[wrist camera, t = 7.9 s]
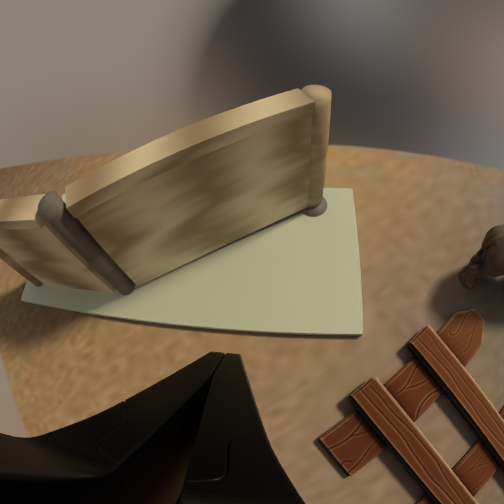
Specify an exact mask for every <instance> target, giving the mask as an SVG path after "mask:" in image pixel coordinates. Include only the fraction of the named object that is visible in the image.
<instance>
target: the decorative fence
mask: <svg viewBox="0 0 504 504" xmlns="http://www.w3.org/2000/svg"><path fill="white" fill-rule="evenodd" d="M484 323H485V321H484V319H483V318H482V317H481V316H480V314H479V313H478V312H477V311H476V310H475V309H470V310H465V311H460V312H456V313H454V314H453V315H452V316H451V317H450V318H449V319H448V321H447V322H446V323H445V324H444V325H443V326H442V327H441V328H440V330H439V331H438V332H437V333H435V331H434V330H433V329H432V328H431V327H430V325H426V326H425V327H424V328H423V329H422V330H421V331H420V332H419V333H418V334H417V335H416V336H415V337H414V338H413V339H412V340H411V341H410V342H409V343H408V346H407V347H408V349H409V350H410V351H411V352H412V353H413V355H414V357H413V358H412V359H411V360H410V361H409V362H408V363H407V364H406V365H405V366H404V367H403V368H402V369H401V370H400V371H398V372H397V373H396V374H395V375H394V376H393V377H392V378H391V379H390V380H389V381H388V382H387V383H386V384H384V385H382V383H381V382H380V381H379V380H378V379H377V377H371V378H370V379H369V380H368V381H366V382H365V383H364V384H363V385H362V386H361V387H359V388H358V389H357V390H356V391H355V392H353V393H352V394H351V395H350V396H349V400H350V402H351V403H352V404H353V405H354V406H355V408H356V409H355V410H354V411H353V412H352V413H350V414H349V415H348V416H347V417H345V418H344V419H343V420H342V421H340V422H339V423H338V424H336V425H335V426H334V427H332V428H331V429H330V430H328V431H327V432H326V433H324V434H323V435H322V436H320V437H319V438H318V441H319V442H320V443H321V444H322V446H323V447H324V448H325V449H326V450H327V452H328V453H329V454H330V455H331V457H332V458H333V459H334V460H335V461H336V463H337V464H338V465H339V466H340V467H341V469H342V470H343V471H344V472H345V473H346V474H347V476H352V475H353V474H354V473H356V472H357V471H358V470H360V469H361V468H362V467H364V466H365V465H366V464H367V463H369V462H370V461H371V460H372V459H374V458H375V457H376V456H377V455H378V454H380V453H381V452H382V451H383V450H384V449H385V448H387V447H388V448H389V449H390V450H391V452H392V453H393V454H394V455H395V456H396V458H397V459H398V460H399V461H400V462H401V464H402V465H403V466H404V467H405V468H406V470H407V471H408V472H409V473H410V474H411V475H412V477H413V478H414V479H415V480H416V481H417V483H418V484H419V485H420V486H421V487H422V489H423V490H424V491H425V492H426V493H427V494H425V495H424V496H423V497H422V498H421V499H420V500H419V501H418V502H416V503H415V504H478V503H477V501H476V500H475V499H474V498H473V497H474V496H475V495H476V494H477V493H478V491H479V490H480V489H481V488H482V487H483V486H484V485H485V484H486V482H487V481H488V480H489V479H490V478H491V476H492V475H493V474H494V473H495V472H496V470H497V469H498V468H499V467H501V468H502V470H503V471H504V406H503V407H502V409H501V410H500V412H499V413H498V411H497V410H496V409H495V407H494V406H493V405H492V403H491V402H490V400H489V399H488V398H487V396H486V395H485V394H484V392H483V391H482V390H481V388H480V387H479V386H478V385H477V383H476V382H475V381H474V379H473V378H472V377H471V375H470V374H469V373H468V372H467V370H466V369H465V368H464V367H465V366H466V365H467V364H468V362H469V361H470V360H471V359H472V357H473V356H474V355H475V353H476V352H477V351H478V350H479V348H480V347H481V345H482V340H483V332H484ZM443 392H444V393H445V394H446V395H447V396H448V398H449V399H450V400H451V401H452V403H453V404H454V405H455V406H456V408H457V409H458V410H459V412H460V413H461V414H462V415H463V417H464V418H465V419H466V421H467V422H468V423H469V425H470V426H471V427H472V429H473V430H474V431H475V432H476V434H477V435H478V436H479V439H478V440H477V441H476V442H475V444H474V445H473V446H472V447H471V448H470V449H469V451H468V452H467V453H466V454H465V455H464V456H463V457H462V458H461V459H460V461H459V462H458V463H457V464H456V465H455V466H454V467H453V468H452V469H451V468H450V467H449V466H448V465H447V463H446V462H445V461H444V460H443V458H442V457H441V456H440V455H439V453H438V452H437V451H436V450H435V448H434V447H433V446H432V445H431V444H430V442H429V441H428V440H427V439H426V437H425V436H424V435H423V434H422V432H421V431H420V430H419V429H418V427H417V426H416V425H415V424H414V422H415V421H416V420H417V419H418V418H419V417H420V416H421V415H422V414H423V413H424V412H425V411H426V410H427V409H428V408H429V407H430V406H431V405H432V404H433V403H434V402H435V401H436V399H437V398H438V397H439V396H440V395H441V394H442V393H443Z"/></svg>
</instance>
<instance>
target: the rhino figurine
mask: <svg viewBox="0 0 504 504" xmlns="http://www.w3.org/2000/svg"><path fill="white" fill-rule="evenodd" d="M472 261H473V263H474V264H475V265H471V266H469V267H468V271H467V272H463V273H462V274H461V275H460V279H461V282H462V283H463V285H464V286H465V287H466V288H468V289H469V288H471V287H475V285H476V278H478V277H483V276H489V277H498V276H502V275H504V225H498V226H495V227H493V228H491V229H490V230H489V231H488V232H487V234H486V236H485V238H484V240H483V243H482V248H481V249H480V250H479V251H478V252H477V253H476V254H475V255H474V256H473V258H472Z"/></svg>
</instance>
